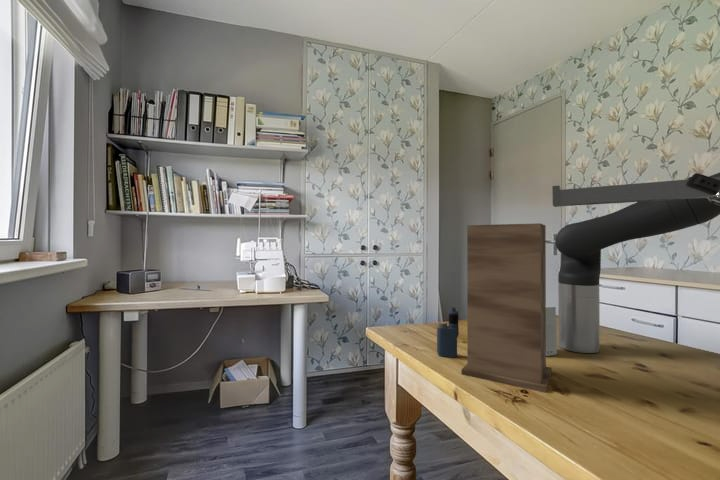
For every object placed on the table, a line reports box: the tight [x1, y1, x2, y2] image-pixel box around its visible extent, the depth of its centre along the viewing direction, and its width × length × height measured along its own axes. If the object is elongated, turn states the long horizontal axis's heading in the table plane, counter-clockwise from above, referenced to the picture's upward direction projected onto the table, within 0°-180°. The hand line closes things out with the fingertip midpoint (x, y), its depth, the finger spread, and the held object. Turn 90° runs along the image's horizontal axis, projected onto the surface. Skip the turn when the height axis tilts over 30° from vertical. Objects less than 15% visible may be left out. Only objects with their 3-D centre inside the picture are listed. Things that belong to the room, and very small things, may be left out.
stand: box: [461, 223, 553, 393], centre depth 74 cm, size 12×16×32 cm
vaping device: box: [436, 307, 460, 358], centre depth 85 cm, size 3×5×12 cm, turn 79°
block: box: [551, 177, 720, 208], centre depth 62 cm, size 4×25×4 cm, turn 56°
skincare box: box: [546, 305, 558, 357], centre depth 88 cm, size 6×4×12 cm
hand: (688, 180), depth 58 cm, fingers closed on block, 3 cm apart
